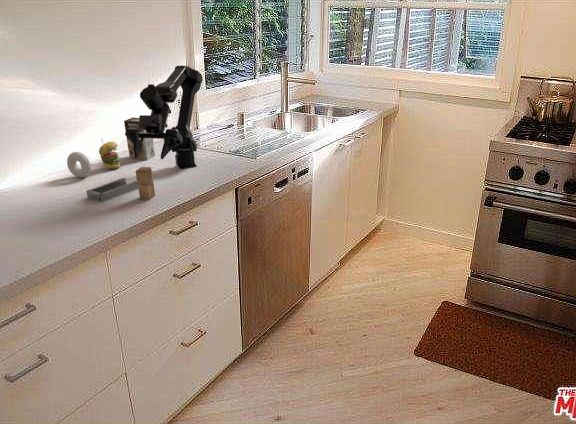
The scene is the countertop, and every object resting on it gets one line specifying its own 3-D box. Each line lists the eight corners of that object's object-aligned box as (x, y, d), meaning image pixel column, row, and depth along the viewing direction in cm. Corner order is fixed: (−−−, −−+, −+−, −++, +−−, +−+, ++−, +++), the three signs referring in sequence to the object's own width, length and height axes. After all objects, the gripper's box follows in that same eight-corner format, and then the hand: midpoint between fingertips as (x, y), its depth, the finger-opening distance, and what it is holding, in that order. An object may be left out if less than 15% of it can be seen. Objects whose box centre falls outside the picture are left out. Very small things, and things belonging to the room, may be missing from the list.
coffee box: (128, 158, 208) (122, 120, 202) (137, 154, 214) (132, 117, 207) (147, 160, 205) (141, 121, 199) (156, 155, 211) (151, 118, 204)
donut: (95, 177, 188) (90, 151, 184) (89, 180, 185) (83, 154, 181) (74, 174, 191) (69, 149, 187) (67, 177, 188) (62, 152, 184)
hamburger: (118, 170, 194) (113, 140, 189) (99, 171, 193) (94, 141, 188) (123, 164, 201) (118, 135, 196) (105, 165, 200) (99, 136, 195)
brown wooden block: (145, 195, 169) (141, 166, 165) (155, 195, 168) (151, 167, 164) (140, 199, 165) (135, 170, 161) (149, 199, 164) (145, 171, 160)
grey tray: (124, 184, 179) (123, 177, 178) (138, 188, 175) (137, 181, 174) (87, 197, 168) (86, 190, 167) (102, 202, 164) (100, 195, 163)
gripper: (122, 104, 166) (111, 145, 160) (175, 104, 162) (165, 147, 156) (137, 122, 176) (127, 161, 170) (187, 123, 172) (178, 163, 167)
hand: (148, 158), depth 166 cm, fingers open, 9 cm apart
